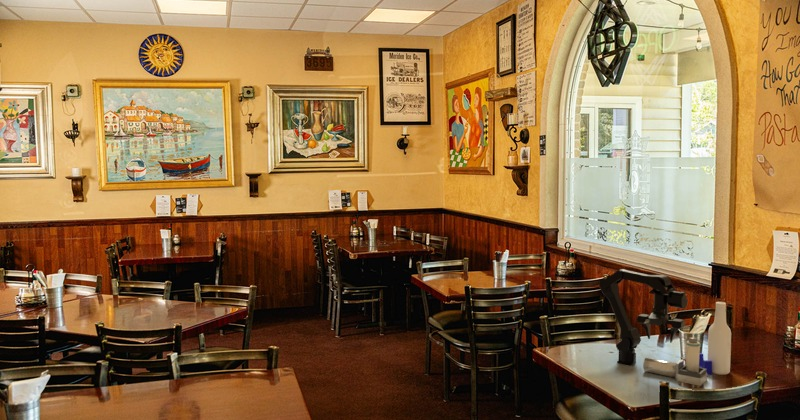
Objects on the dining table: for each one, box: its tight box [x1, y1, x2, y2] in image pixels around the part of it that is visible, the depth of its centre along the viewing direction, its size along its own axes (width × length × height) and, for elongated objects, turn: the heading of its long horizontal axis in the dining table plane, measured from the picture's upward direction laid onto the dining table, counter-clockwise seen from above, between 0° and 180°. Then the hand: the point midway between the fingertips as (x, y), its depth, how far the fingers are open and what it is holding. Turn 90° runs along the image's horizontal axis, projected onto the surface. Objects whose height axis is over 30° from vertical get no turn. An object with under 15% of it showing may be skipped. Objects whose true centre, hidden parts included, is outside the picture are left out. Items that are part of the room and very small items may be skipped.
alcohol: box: [707, 301, 732, 376], centre depth 282 cm, size 9×9×30 cm
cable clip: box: [699, 352, 713, 376], centre depth 285 cm, size 12×4×6 cm, turn 174°
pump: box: [685, 337, 701, 373], centre depth 271 cm, size 5×5×15 cm
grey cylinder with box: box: [642, 357, 708, 387], centre depth 277 cm, size 24×9×7 cm, turn 50°
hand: (659, 340), depth 285 cm, fingers open, 9 cm apart
